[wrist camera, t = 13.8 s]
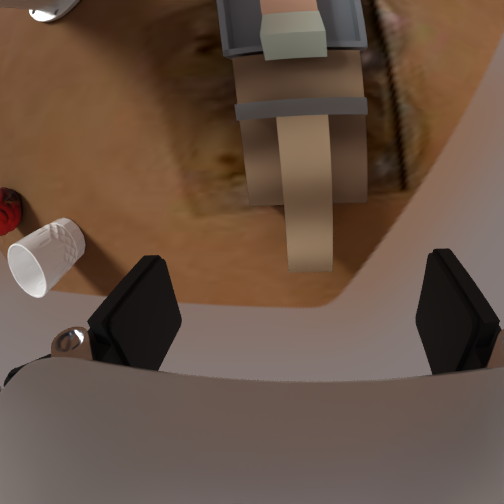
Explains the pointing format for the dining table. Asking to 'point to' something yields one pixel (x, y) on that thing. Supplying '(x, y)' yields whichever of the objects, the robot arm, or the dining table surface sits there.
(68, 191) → the dining table surface
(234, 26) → the tray
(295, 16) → the tile sage
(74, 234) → the white cup
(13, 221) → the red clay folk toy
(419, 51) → the dining table surface
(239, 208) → the dining table surface
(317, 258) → the scraper
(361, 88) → the wooden block
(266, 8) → the tile terracotta
